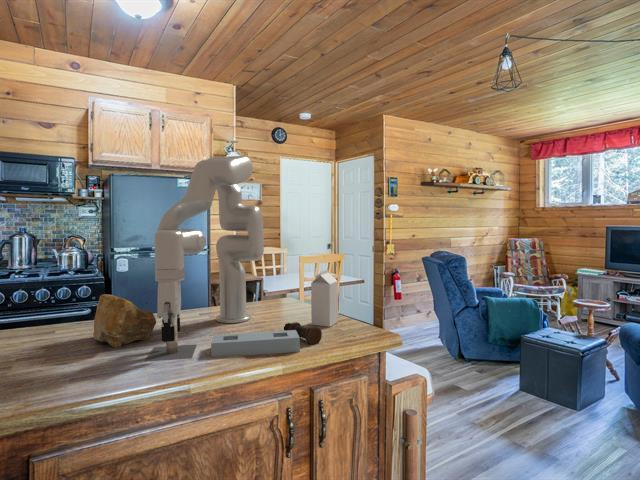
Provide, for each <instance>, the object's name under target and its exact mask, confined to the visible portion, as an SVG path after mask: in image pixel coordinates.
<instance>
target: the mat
mask: <svg viewBox="0 0 640 480" xmlns="http://www.w3.org/2000/svg"><path fill="white" fill-rule="evenodd" d="M197 345H198V344H184V345H183V344H182V345H178V352H177V353H175V354H167V353H166V345H165V346H154V347H153V348H152V350H151V351H150V352H149V354H148V355H147V357H146V358H145V360H144V362H145V363H146V362H159V361H171V360H185V359H186V360H187V359H193V357H194V354H195V351H196V348H197Z"/></svg>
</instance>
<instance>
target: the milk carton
mask: <svg viewBox="0 0 640 480" xmlns="http://www.w3.org/2000/svg"><path fill="white" fill-rule="evenodd" d="M310 284H311V285H310V288H311V289H310V291H311V292H310V295H311V296H310V299H311V300H310V301H311V310H310V311H311V326H318V327H319V326H320V327H329V328H330V327H333V326H334V325H335V324H337V323H338V322H339V321H338V319H339V318H338V316H339V314H338V312H339V311H338V280H337V279H336V278H335V277H334V276H333V275H332V274H331V273H330V270H329V269H326V270H322V271H320V272H319V273H318V274H317V275H315V279H313V281H312V282H311V283H310Z"/></svg>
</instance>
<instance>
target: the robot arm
mask: <svg viewBox="0 0 640 480" xmlns="http://www.w3.org/2000/svg"><path fill="white" fill-rule="evenodd" d="M253 167H254V166H253V163H252V160H251V159H250V158H249V157H248V156H246V155H231V156H229V155H228V156H212V157H209V158H207V159H204V160H203V159H202V160H200V161H198V162H197V163H196V164H195V165H194V168H193V170H192V174H191V177H190V179H189V182H188V185H187V187H186V191H185V193H184V196H183V197H182V198H181V199H179V200H178V201H177V202H176V203H175V204H174V205H172V206H171V207H170V208H169V209H168V210H167V211H166V212H165V213H164V215H163V216H162V217H161V219H160V222H159V224H158V227H157V230H156V231H155V233H154V235H153V237H154V272H155V273H154V275H155V277H154V278H155V279H154V280H155V282H158V285H157V302H156V303H157V305H156V306H157V308H156V310H157V312H156V314H157V315H156V318H158V319H161V327H160V328H161V342H162V343H166V342H170V341H174V340H175V328H174V326H173V322H174V318H175V317H176V316H177V333H179V332H180V331H181V315H180V312H181V310H182V291H181V290H182V289H181V287H182V286H181V282H182V281H185V255H186V256H187V255H189V256H191V255H197V254H199V253H201V252H202V251H204V249H205V246H206V243H207V240H206V236H205V234H204V233H203V232H202V231H201V230H199V229H195V228H179V227H180V225H182V224H183V223H184V222H186V221H187V220H189V219H191V218H193V217H195V216H198V215H200V214H202V213H205V212H206V211H208V210H210V208H211V207H212V204H213V202H214V198H215V195H216V193H217V198H218V199H217V200H218V217H219V218H218V219H219V226H220V228H221V229H222V230H224V231H226V232H247V234H226V235H221V236H220V237H219V238H217V240H216V244H215V250H216V255H217V261H218V268H219V269H218V270H219V271H218V272H219V311H220V314H219V315H216V317H215V320H216V321H217V322H218V323H221V324H237V323H244V322H246V321H250V320H251V314H250V313H248V312H247V286H246V284H247V283H246V282H247V279H246V278H247V277H246V270H245V268H244V266H243V264H242V263H241V261H242V262H247V261H248V262H252V261H253V262H255V261H259V260H261V259H262V258H263V255H264V251H265V249H264V248H265V242H264V241H265V238H264V236H265V235H264V217H263V213H262V210H261V209H260V207H258V206H257V205H254V204H243V194H242V193H243V192H242V189H241V187H240V186H239V185H238V184H242V183H244V182H246V181H248V180H249V179H250V178H251V177H252V175H253V173H254V172H253V169H254V168H253ZM170 320H171V321H170Z"/></svg>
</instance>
